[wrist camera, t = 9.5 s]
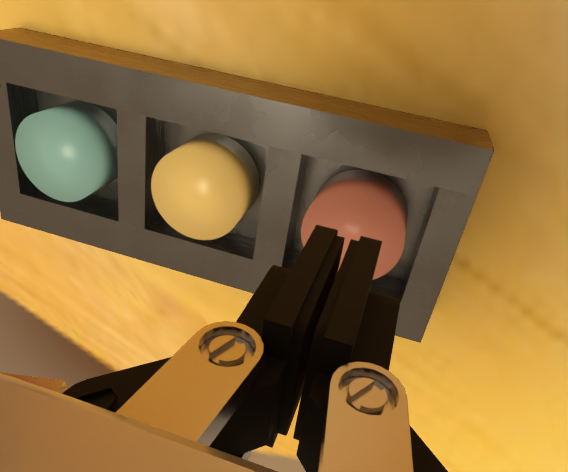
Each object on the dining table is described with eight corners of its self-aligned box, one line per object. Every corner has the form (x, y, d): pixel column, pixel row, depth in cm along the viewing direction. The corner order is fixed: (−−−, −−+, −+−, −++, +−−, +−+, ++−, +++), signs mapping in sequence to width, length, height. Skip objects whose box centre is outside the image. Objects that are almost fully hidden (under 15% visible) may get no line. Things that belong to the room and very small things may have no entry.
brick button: (419, 182, 22) (417, 204, 20) (393, 265, 25) (389, 293, 22) (322, 159, 23) (310, 177, 21) (306, 242, 25) (293, 266, 23)
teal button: (125, 111, 25) (95, 124, 23) (126, 193, 27) (98, 211, 25) (47, 92, 26) (9, 102, 23) (53, 173, 28) (20, 189, 26)
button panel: (487, 130, 22) (494, 150, 19) (421, 308, 27) (420, 342, 24) (19, 28, 26) (-27, 32, 23) (38, 198, 30) (1, 218, 28)
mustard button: (264, 145, 24) (247, 162, 21) (253, 227, 26) (236, 250, 24) (177, 124, 24) (152, 138, 22) (174, 206, 27) (150, 226, 24)
